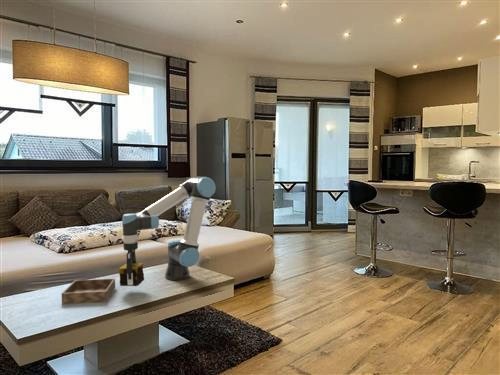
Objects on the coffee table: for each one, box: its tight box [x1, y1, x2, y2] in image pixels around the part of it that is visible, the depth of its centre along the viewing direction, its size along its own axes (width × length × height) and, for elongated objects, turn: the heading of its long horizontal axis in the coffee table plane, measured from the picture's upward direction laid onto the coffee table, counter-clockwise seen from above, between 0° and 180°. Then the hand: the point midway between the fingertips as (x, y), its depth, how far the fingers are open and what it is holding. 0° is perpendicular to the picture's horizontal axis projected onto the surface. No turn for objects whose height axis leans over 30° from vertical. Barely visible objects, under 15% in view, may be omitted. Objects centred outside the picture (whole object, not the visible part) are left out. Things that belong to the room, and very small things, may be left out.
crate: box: [61, 278, 116, 305], centre depth 202 cm, size 22×22×6 cm
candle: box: [118, 262, 145, 287], centre depth 206 cm, size 10×10×10 cm
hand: (132, 281), depth 207 cm, fingers closed on candle, 11 cm apart
